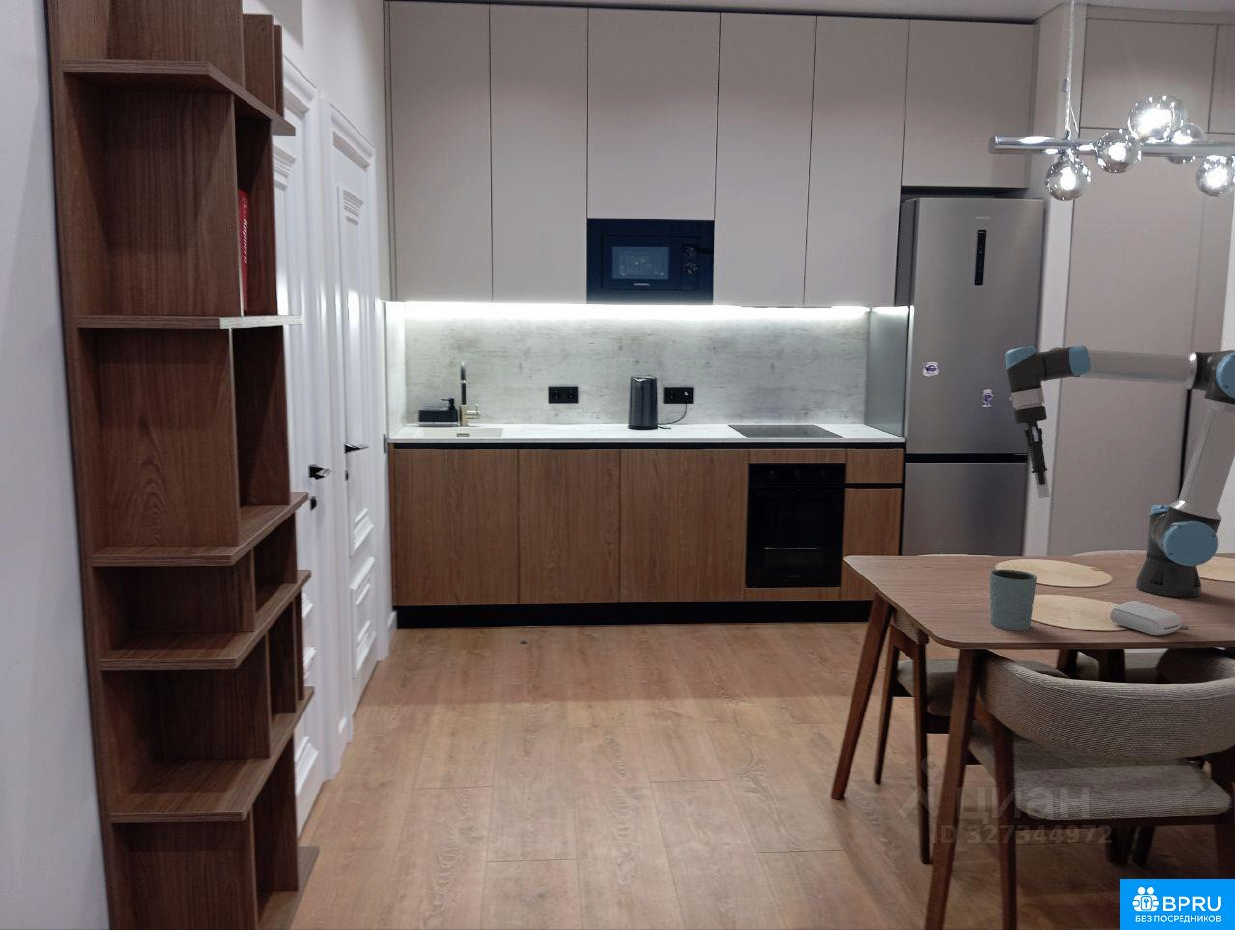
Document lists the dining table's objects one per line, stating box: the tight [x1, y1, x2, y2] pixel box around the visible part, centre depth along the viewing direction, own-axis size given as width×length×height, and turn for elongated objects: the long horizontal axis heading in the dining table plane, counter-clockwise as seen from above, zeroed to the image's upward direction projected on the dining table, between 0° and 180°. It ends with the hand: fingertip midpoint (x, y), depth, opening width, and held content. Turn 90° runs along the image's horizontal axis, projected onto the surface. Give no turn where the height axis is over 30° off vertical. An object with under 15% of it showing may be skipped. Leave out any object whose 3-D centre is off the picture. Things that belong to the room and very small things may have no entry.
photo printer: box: [1109, 600, 1183, 636], centre depth 225 cm, size 10×4×12 cm
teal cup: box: [989, 569, 1038, 632], centre depth 225 cm, size 10×10×12 cm
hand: (1043, 497), depth 253 cm, fingers closed
